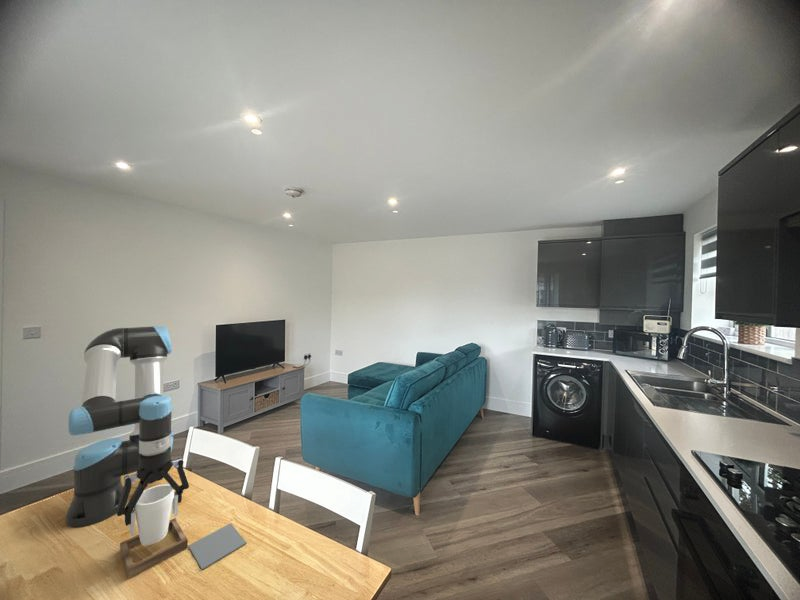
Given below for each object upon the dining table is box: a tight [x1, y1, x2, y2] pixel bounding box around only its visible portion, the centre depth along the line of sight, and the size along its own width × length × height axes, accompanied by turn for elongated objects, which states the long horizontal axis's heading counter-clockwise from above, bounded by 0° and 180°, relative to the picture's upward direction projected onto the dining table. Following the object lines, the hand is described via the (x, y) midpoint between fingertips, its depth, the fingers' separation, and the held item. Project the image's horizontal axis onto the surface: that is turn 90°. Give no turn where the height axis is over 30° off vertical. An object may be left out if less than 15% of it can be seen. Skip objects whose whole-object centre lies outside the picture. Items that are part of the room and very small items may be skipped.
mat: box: [188, 523, 247, 571], centre depth 92 cm, size 12×12×1 cm
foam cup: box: [134, 483, 175, 546], centre depth 90 cm, size 10×9×13 cm
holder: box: [119, 517, 189, 580], centre depth 90 cm, size 13×13×2 cm
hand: (154, 523), depth 90 cm, fingers closed on foam cup, 9 cm apart
